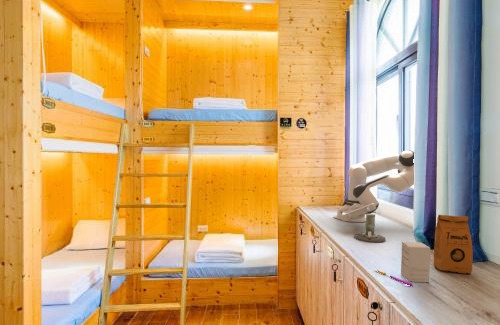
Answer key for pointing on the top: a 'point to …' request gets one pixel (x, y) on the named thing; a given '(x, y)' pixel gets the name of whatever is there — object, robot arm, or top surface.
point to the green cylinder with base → (370, 226)
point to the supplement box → (415, 261)
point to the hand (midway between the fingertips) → (359, 212)
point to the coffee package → (453, 244)
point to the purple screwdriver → (397, 279)
